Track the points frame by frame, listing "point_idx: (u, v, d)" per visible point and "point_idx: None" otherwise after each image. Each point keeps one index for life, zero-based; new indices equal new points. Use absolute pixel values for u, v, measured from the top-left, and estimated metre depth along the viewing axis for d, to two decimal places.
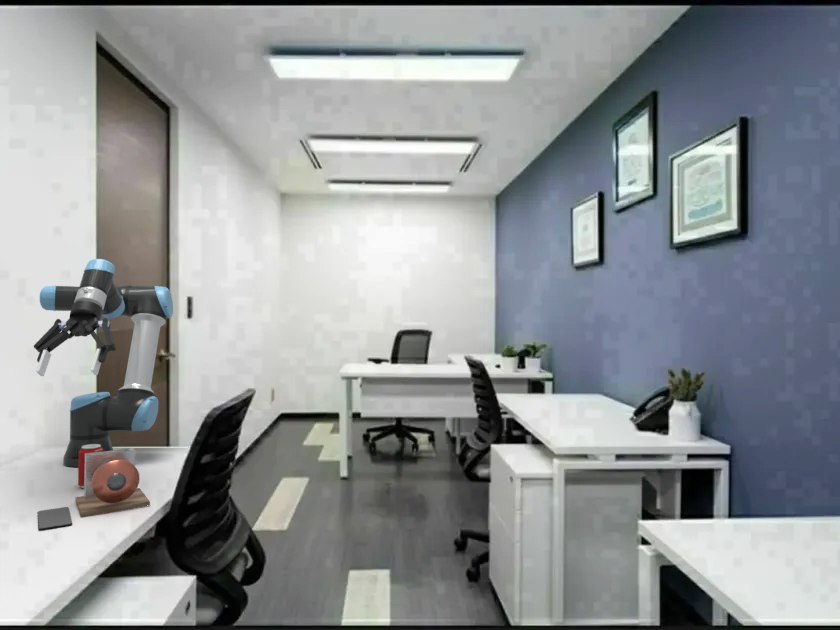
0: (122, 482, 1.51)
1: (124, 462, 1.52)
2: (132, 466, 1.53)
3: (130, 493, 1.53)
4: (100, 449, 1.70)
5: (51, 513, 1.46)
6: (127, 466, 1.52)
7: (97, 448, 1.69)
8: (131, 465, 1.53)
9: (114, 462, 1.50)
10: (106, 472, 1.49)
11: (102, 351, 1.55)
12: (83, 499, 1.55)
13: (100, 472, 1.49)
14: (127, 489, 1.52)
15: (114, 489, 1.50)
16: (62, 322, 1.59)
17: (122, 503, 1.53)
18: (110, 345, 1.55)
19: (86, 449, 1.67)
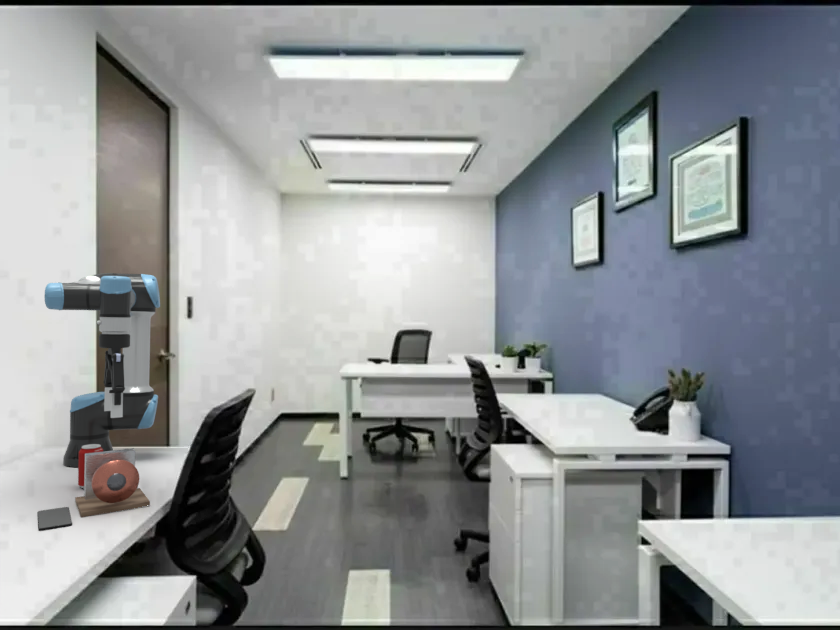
0: (122, 482, 1.51)
1: (124, 462, 1.52)
2: (132, 466, 1.53)
3: (130, 493, 1.53)
4: (100, 449, 1.70)
5: (51, 513, 1.46)
6: (127, 466, 1.52)
7: (97, 448, 1.69)
8: (131, 465, 1.53)
9: (114, 462, 1.50)
10: (106, 472, 1.49)
11: (114, 395, 1.50)
12: (83, 499, 1.55)
13: (100, 472, 1.49)
14: (127, 489, 1.52)
15: (114, 489, 1.50)
16: None
17: (122, 503, 1.53)
18: (113, 390, 1.49)
19: (86, 449, 1.67)
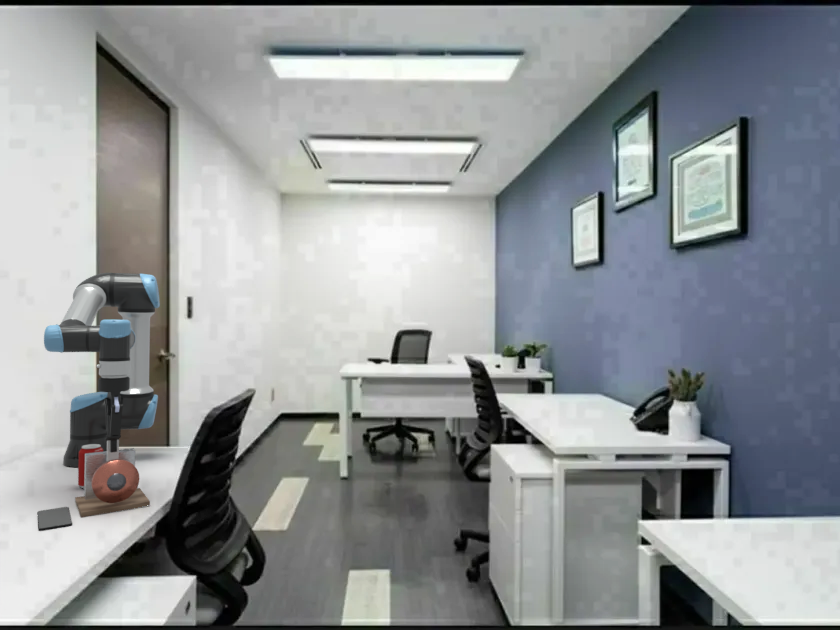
0: (122, 482, 1.51)
1: (124, 462, 1.52)
2: (132, 466, 1.53)
3: (130, 493, 1.53)
4: (100, 449, 1.70)
5: (51, 513, 1.46)
6: (127, 466, 1.52)
7: (97, 448, 1.69)
8: (131, 465, 1.53)
9: (114, 462, 1.50)
10: (106, 472, 1.49)
11: (110, 442, 1.55)
12: (83, 499, 1.55)
13: (100, 472, 1.49)
14: (127, 489, 1.52)
15: (114, 489, 1.50)
16: None
17: (122, 503, 1.53)
18: (109, 438, 1.53)
19: (86, 449, 1.67)
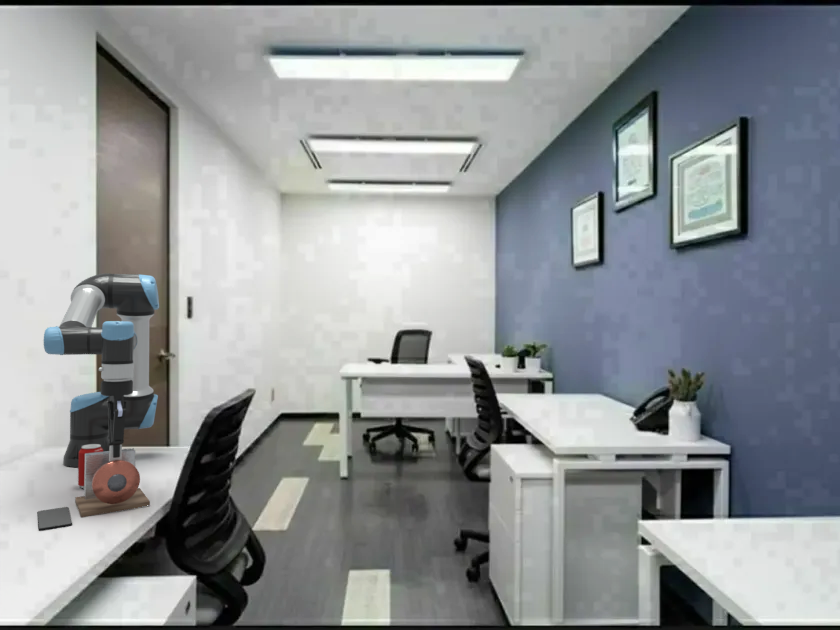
0: (123, 483, 1.50)
1: (125, 463, 1.51)
2: (133, 467, 1.52)
3: (131, 494, 1.52)
4: (100, 449, 1.70)
5: (51, 513, 1.46)
6: (128, 467, 1.52)
7: (97, 448, 1.69)
8: (132, 466, 1.52)
9: (115, 463, 1.50)
10: (107, 473, 1.49)
11: (113, 447, 1.51)
12: (83, 499, 1.55)
13: (101, 473, 1.48)
14: (127, 490, 1.52)
15: (115, 490, 1.49)
16: None
17: (122, 503, 1.53)
18: None
19: (86, 449, 1.67)
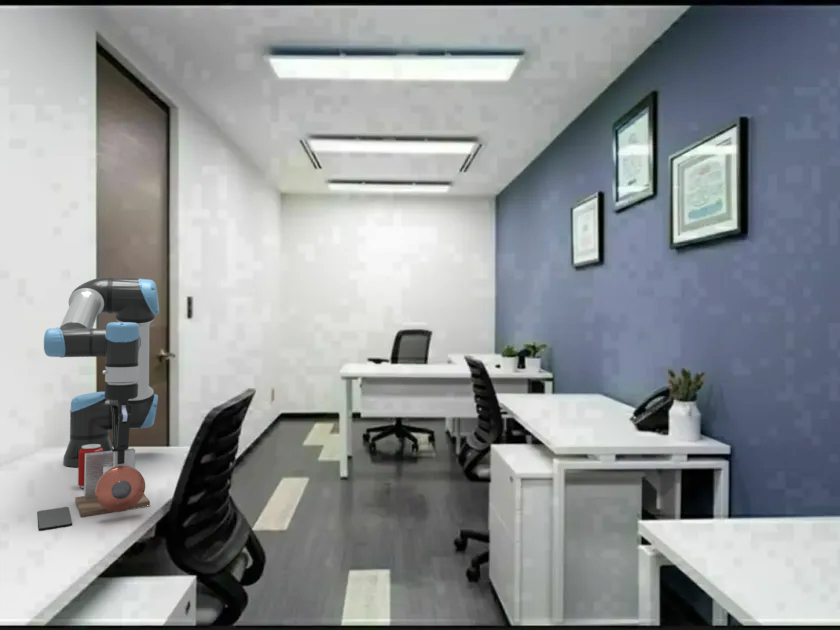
0: (127, 490, 1.45)
1: (129, 469, 1.45)
2: (138, 473, 1.47)
3: (135, 501, 1.46)
4: (100, 449, 1.70)
5: (51, 513, 1.46)
6: (132, 473, 1.46)
7: (97, 448, 1.69)
8: (137, 472, 1.46)
9: (119, 469, 1.44)
10: (111, 479, 1.43)
11: (117, 453, 1.45)
12: (83, 499, 1.55)
13: (105, 480, 1.42)
14: (132, 498, 1.46)
15: (119, 497, 1.44)
16: None
17: None
18: (116, 448, 1.43)
19: (86, 449, 1.67)
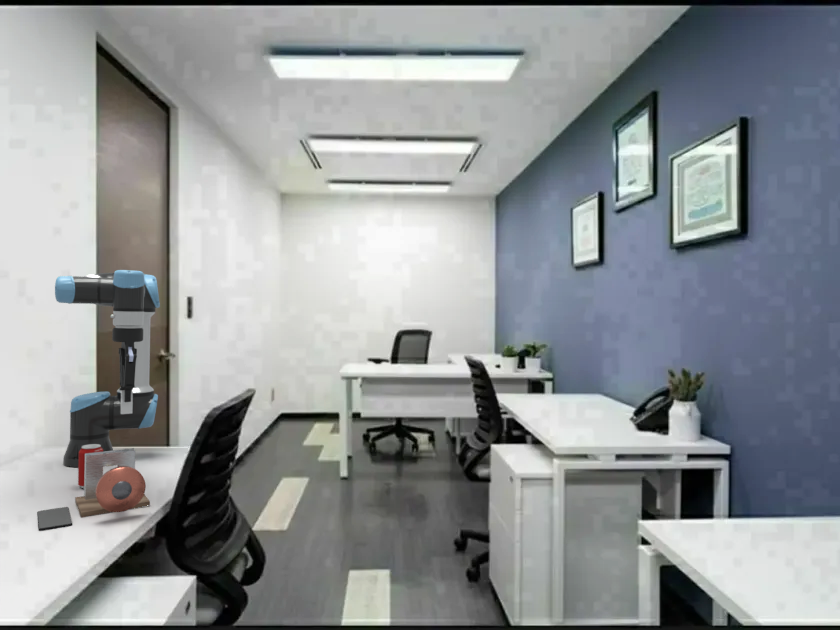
0: (128, 490, 1.44)
1: (130, 469, 1.45)
2: (138, 473, 1.46)
3: (136, 502, 1.46)
4: (100, 449, 1.70)
5: (51, 513, 1.46)
6: (133, 474, 1.46)
7: (97, 448, 1.69)
8: (137, 472, 1.46)
9: (119, 469, 1.44)
10: (111, 480, 1.43)
11: (124, 392, 1.56)
12: (83, 499, 1.55)
13: (105, 480, 1.42)
14: (133, 498, 1.46)
15: (119, 498, 1.43)
16: None
17: None
18: (123, 387, 1.54)
19: (86, 449, 1.67)
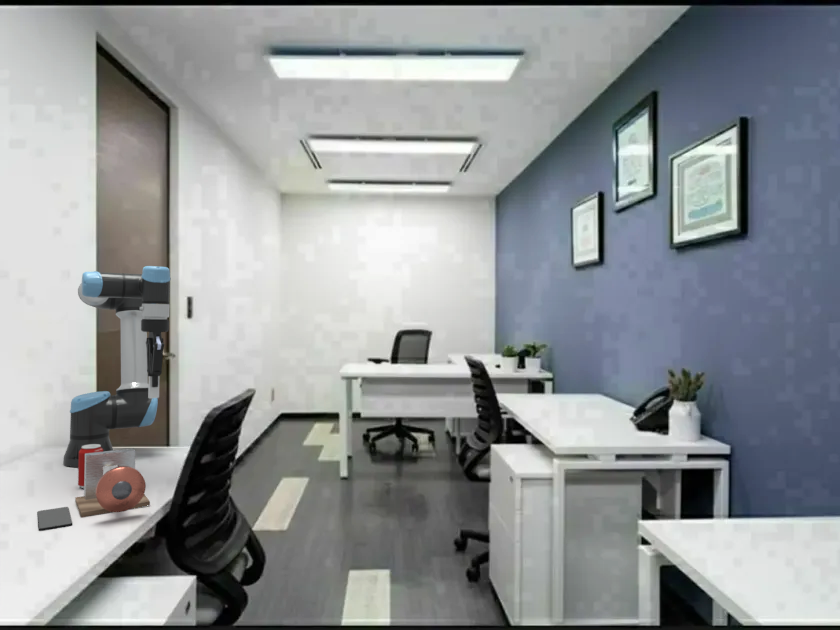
0: (128, 490, 1.44)
1: (130, 469, 1.45)
2: (138, 473, 1.46)
3: (136, 502, 1.46)
4: (100, 449, 1.70)
5: (51, 513, 1.46)
6: (133, 474, 1.46)
7: (97, 448, 1.69)
8: (137, 472, 1.46)
9: (119, 469, 1.44)
10: (111, 480, 1.43)
11: (152, 378, 1.70)
12: (83, 499, 1.55)
13: (105, 480, 1.42)
14: (133, 498, 1.46)
15: (119, 498, 1.43)
16: None
17: None
18: (152, 373, 1.68)
19: (86, 449, 1.67)
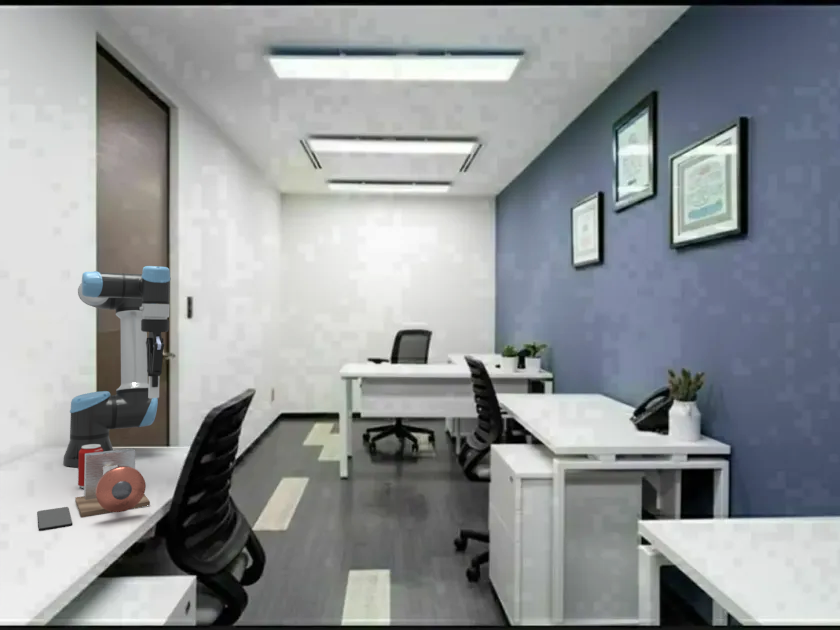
0: (128, 490, 1.44)
1: (130, 469, 1.45)
2: (138, 473, 1.46)
3: (136, 502, 1.46)
4: (100, 449, 1.70)
5: (51, 513, 1.46)
6: (133, 474, 1.46)
7: (97, 448, 1.69)
8: (137, 472, 1.46)
9: (119, 469, 1.44)
10: (111, 480, 1.43)
11: (152, 378, 1.70)
12: (83, 499, 1.55)
13: (105, 480, 1.42)
14: (133, 498, 1.46)
15: (119, 498, 1.43)
16: None
17: None
18: (152, 373, 1.68)
19: (86, 449, 1.67)
